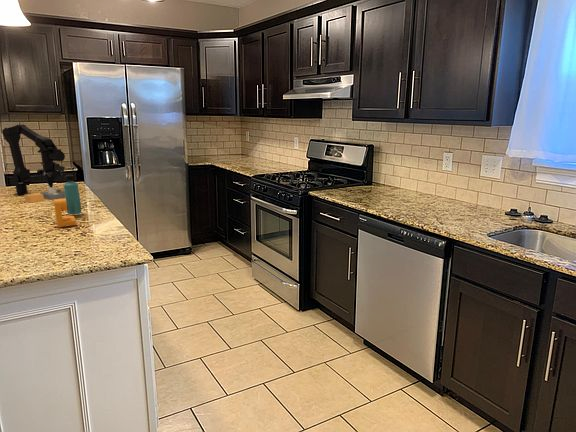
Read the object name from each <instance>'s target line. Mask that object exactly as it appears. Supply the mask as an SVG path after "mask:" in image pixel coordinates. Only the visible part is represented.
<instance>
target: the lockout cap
mask: <svg viewBox="0 0 576 432" xmlns="http://www.w3.org/2000/svg"><path fill="white" fill-rule="evenodd" d="M24 201H25V202H27V203H29V204H31V203H39V202H44V201H45V198H44V197H43V194H40V192H35V193H34V192H33V193H30V194H26V195H24Z"/></svg>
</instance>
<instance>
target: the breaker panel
mask: <svg viewBox="0 0 576 432" xmlns="http://www.w3.org/2000/svg"><path fill="white" fill-rule="evenodd" d="M39 193H40V194H43V197H44V199H46V200H50V201H51V200H53V201H54V200H55V199H65V195H64V194H65V191H64V189H62V188H58V189H56V193H53V194H49V193H48V191H41V192H39Z"/></svg>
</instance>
